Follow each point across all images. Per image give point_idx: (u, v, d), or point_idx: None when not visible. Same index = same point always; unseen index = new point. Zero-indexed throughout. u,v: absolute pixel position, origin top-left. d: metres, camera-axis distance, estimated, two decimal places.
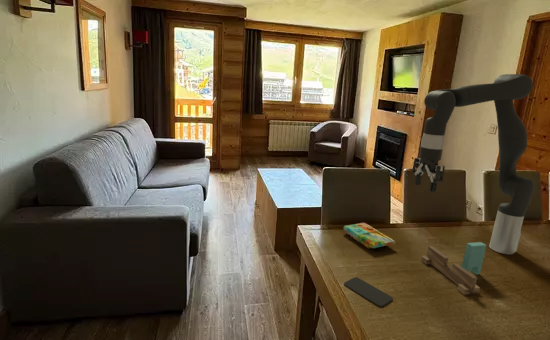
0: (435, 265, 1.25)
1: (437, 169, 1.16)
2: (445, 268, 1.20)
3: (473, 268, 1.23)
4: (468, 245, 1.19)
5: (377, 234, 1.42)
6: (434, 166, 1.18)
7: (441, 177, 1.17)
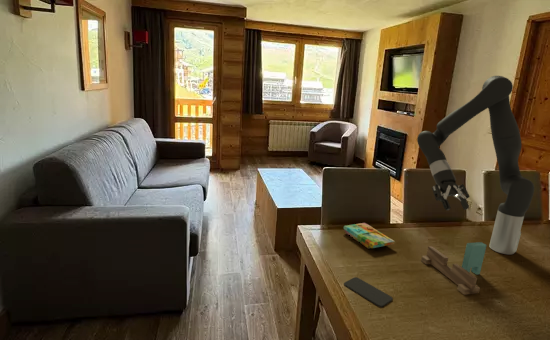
0: (435, 265, 1.25)
1: None
2: (445, 268, 1.20)
3: (473, 268, 1.23)
4: (468, 245, 1.19)
5: (377, 235, 1.42)
6: None
7: None
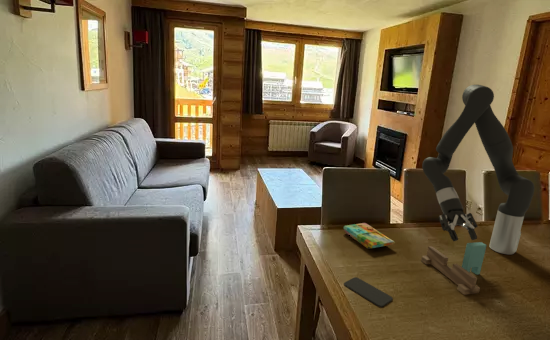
0: (435, 265, 1.25)
1: None
2: (445, 268, 1.20)
3: (473, 268, 1.23)
4: (468, 245, 1.19)
5: (377, 235, 1.42)
6: None
7: None
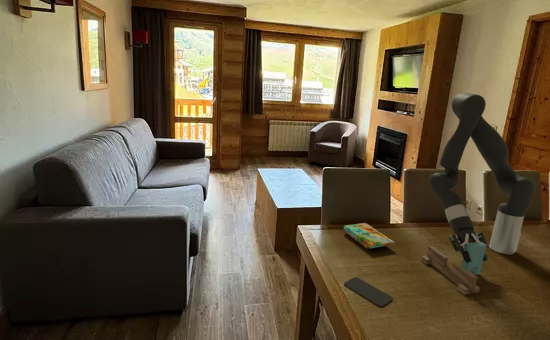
0: (435, 265, 1.25)
1: None
2: (445, 268, 1.20)
3: (473, 268, 1.23)
4: (468, 245, 1.19)
5: (377, 235, 1.42)
6: None
7: None
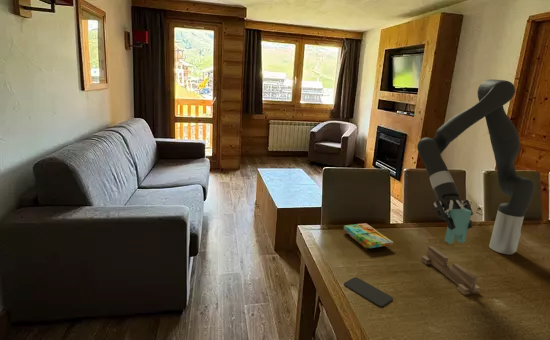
0: (435, 265, 1.25)
1: None
2: (445, 268, 1.20)
3: (458, 236, 1.17)
4: (452, 211, 1.13)
5: (376, 235, 1.42)
6: None
7: None
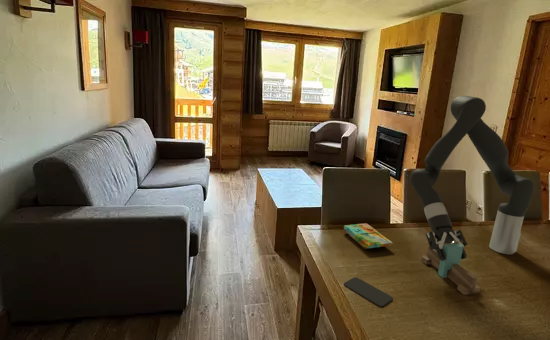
0: (435, 265, 1.25)
1: None
2: None
3: None
4: (445, 247, 1.17)
5: (376, 235, 1.41)
6: None
7: None
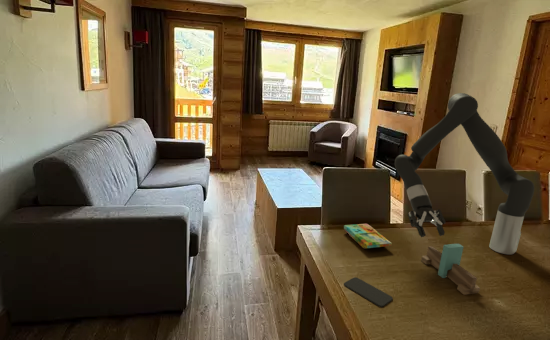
0: (435, 265, 1.25)
1: None
2: None
3: None
4: (445, 247, 1.17)
5: (375, 236, 1.41)
6: None
7: None
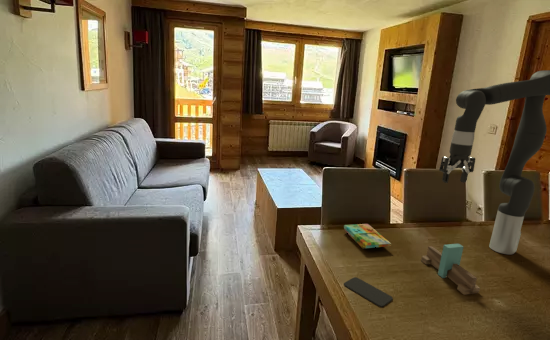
0: (435, 265, 1.25)
1: None
2: None
3: None
4: (445, 247, 1.17)
5: (375, 236, 1.41)
6: None
7: None
